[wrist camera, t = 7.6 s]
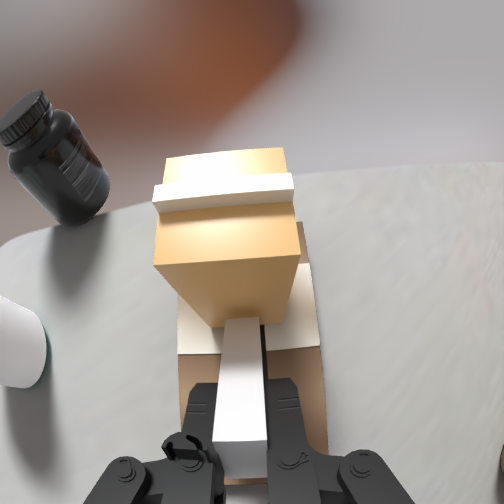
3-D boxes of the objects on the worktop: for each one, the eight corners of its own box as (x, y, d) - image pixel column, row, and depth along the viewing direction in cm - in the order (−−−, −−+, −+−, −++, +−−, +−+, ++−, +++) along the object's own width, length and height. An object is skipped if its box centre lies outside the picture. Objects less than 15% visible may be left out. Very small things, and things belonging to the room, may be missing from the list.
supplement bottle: (98, 161, 26) (48, 73, 15) (123, 195, 24) (62, 90, 13) (49, 202, 24) (-14, 125, 13) (67, 243, 22) (-17, 158, 11)
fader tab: (280, 327, 17) (303, 243, 7) (214, 332, 17) (145, 256, 7) (274, 267, 19) (283, 134, 9) (213, 271, 19) (162, 146, 9)
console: (321, 464, 14) (329, 476, 12) (195, 471, 14) (186, 482, 12) (298, 239, 21) (302, 220, 19) (189, 247, 21) (180, 230, 19)
